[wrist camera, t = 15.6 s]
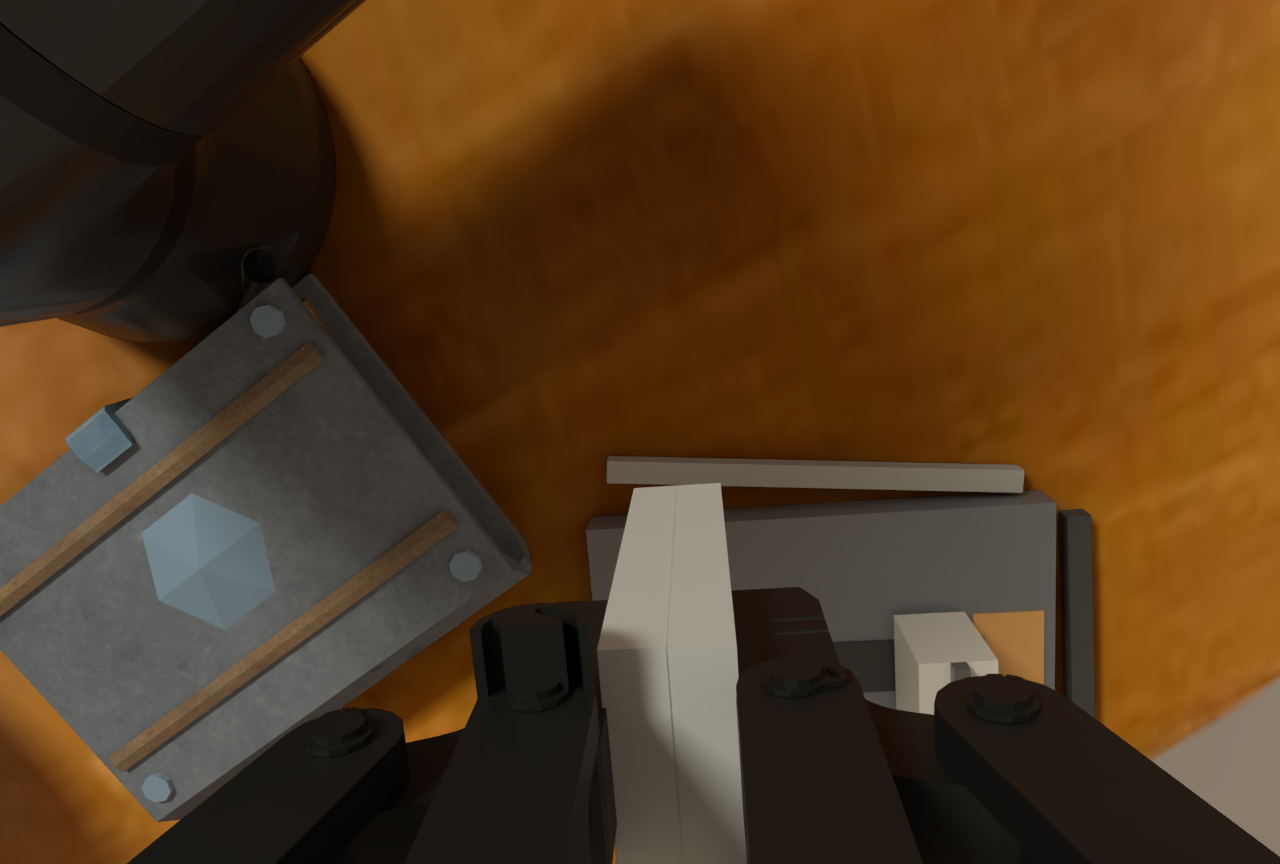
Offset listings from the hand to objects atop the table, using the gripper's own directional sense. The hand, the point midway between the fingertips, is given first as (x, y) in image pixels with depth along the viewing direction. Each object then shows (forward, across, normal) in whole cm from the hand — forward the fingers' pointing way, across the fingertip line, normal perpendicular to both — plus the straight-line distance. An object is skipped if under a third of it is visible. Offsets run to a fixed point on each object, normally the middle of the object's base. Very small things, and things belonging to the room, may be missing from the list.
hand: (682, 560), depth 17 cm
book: (+27, -21, -7) cm, 35 cm away
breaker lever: (+24, +9, -14) cm, 29 cm away
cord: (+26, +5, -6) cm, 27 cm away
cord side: (+26, +16, -13) cm, 34 cm away
